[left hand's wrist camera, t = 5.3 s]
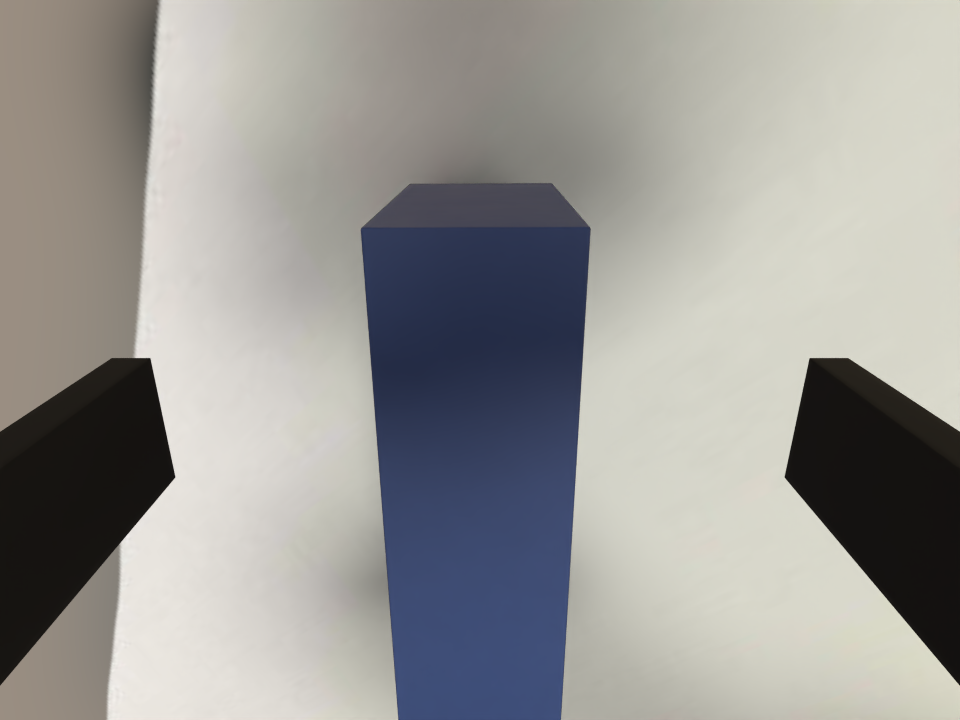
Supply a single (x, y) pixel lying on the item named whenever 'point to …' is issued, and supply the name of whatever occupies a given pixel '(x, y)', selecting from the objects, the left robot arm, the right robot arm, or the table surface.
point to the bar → (477, 440)
